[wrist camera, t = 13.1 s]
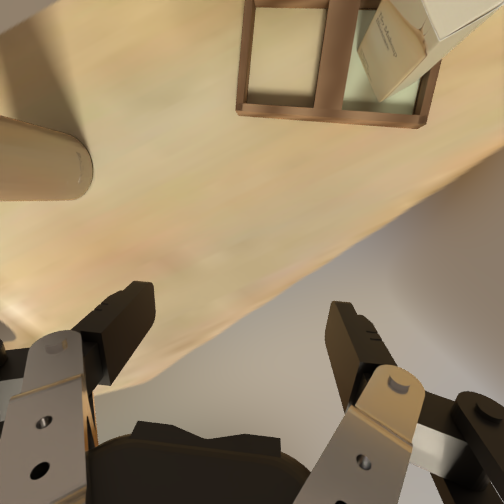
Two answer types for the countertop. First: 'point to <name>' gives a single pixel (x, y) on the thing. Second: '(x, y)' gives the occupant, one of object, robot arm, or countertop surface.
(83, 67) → the countertop surface
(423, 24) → the skincare box
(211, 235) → the countertop surface
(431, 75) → the walnut organizer
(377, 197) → the countertop surface
